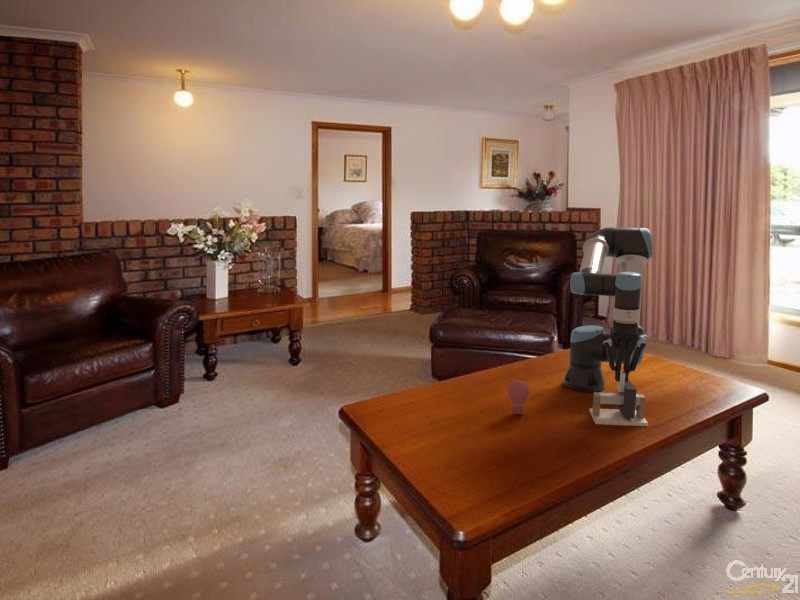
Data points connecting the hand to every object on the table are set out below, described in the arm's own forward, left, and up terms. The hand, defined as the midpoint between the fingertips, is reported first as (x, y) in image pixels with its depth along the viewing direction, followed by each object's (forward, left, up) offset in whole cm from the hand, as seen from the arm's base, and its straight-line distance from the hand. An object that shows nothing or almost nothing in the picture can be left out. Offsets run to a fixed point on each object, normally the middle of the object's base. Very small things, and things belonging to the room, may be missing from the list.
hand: (620, 390), depth 173 cm
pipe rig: (0, 0, -10) cm, 10 cm away
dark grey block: (+2, +1, -8) cm, 8 cm away
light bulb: (-28, -17, -10) cm, 34 cm away
